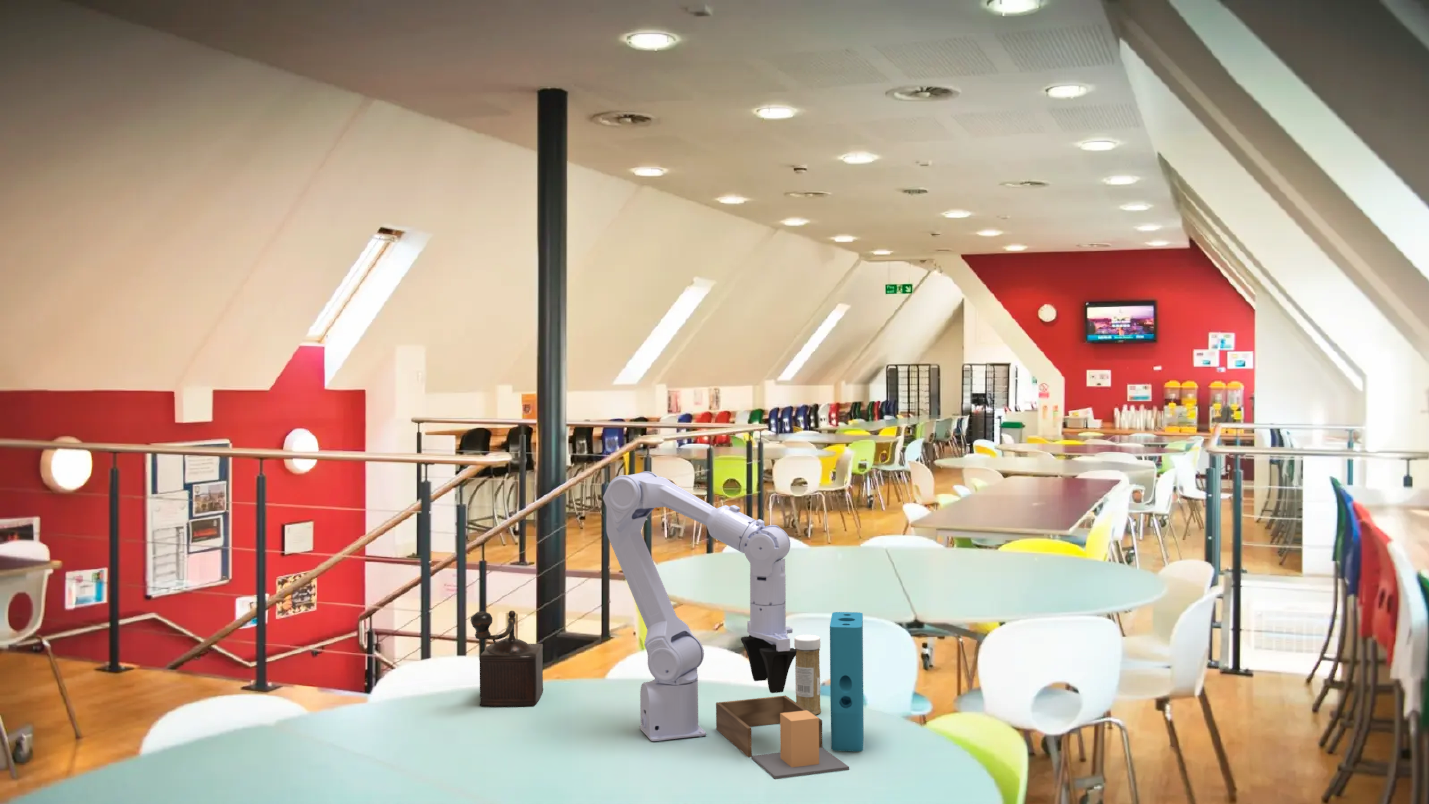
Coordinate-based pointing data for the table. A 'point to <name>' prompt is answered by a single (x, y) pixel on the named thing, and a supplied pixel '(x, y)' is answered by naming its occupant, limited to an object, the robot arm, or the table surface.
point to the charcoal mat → (782, 769)
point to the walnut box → (753, 718)
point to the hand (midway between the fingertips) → (768, 686)
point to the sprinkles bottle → (808, 672)
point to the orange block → (799, 738)
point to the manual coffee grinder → (508, 666)
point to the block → (846, 681)
